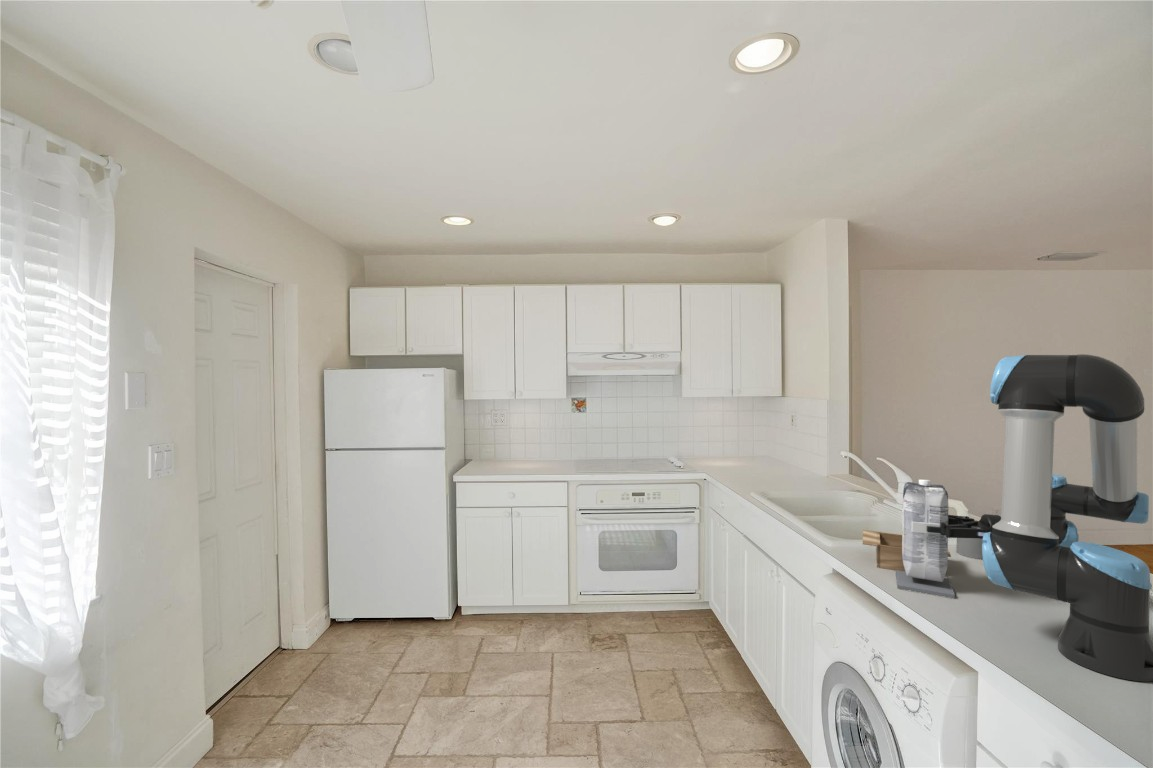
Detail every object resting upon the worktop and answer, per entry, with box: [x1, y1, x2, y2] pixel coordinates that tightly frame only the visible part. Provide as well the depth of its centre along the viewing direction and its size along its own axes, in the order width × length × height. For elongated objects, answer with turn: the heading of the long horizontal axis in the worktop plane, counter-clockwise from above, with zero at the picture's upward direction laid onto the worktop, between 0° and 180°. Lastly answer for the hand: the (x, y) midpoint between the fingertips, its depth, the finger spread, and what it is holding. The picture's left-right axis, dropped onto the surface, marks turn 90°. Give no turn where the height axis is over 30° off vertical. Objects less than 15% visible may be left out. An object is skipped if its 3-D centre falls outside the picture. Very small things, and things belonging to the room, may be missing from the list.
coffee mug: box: [955, 538, 983, 561], centre depth 173 cm, size 13×10×10 cm
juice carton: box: [901, 479, 949, 582], centre depth 148 cm, size 9×10×27 cm
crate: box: [862, 529, 952, 572], centre depth 165 cm, size 16×23×7 cm
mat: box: [895, 570, 956, 599], centre depth 149 cm, size 13×13×1 cm
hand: (906, 521), depth 150 cm, fingers closed on juice carton, 10 cm apart
